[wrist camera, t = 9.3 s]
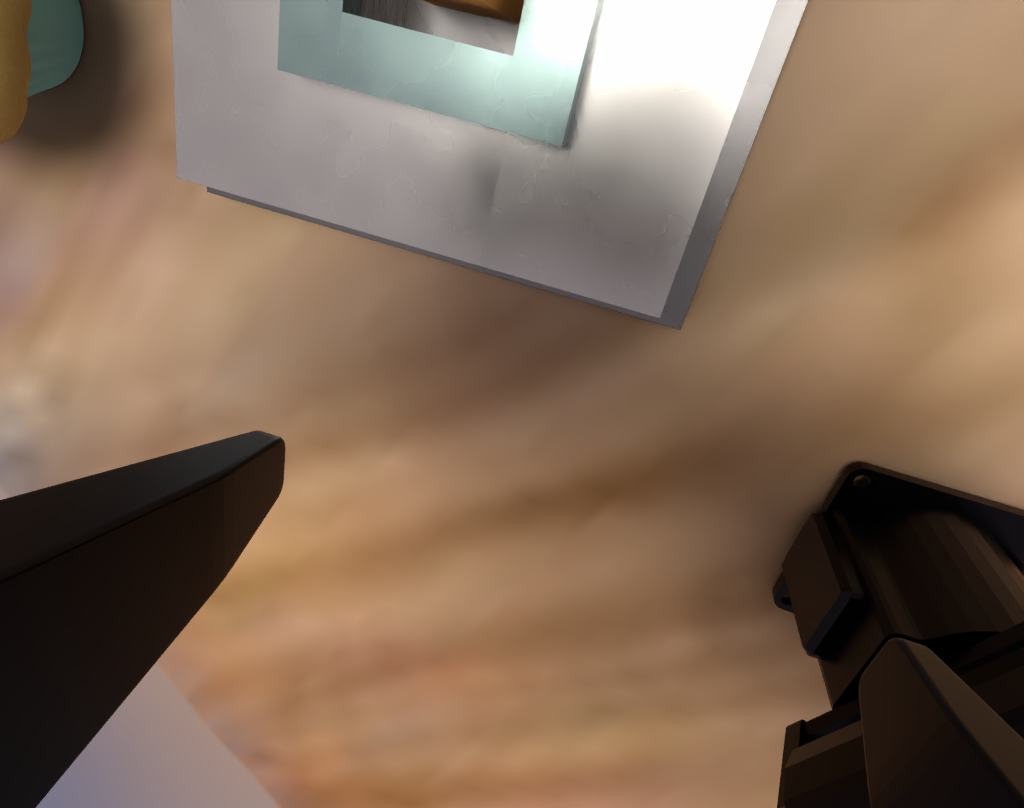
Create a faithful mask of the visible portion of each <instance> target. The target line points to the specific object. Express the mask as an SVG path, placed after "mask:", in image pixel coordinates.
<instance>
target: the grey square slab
mask: <svg viewBox="0 0 1024 808" xmlns="http://www.w3.org/2000/svg"><path fill="white" fill-rule="evenodd" d="M807 2H808V0H524V5H523V10H522V15H521V20H520V25H519V24H515V23H510V22H506V21H501V20H497V19H493V18H488V17H484V16H480V15H475V14H471V13H467V12H462V11H458V10H454V9H449V8H445V7H441V6H436V5H433V4H431V3H428V2H426V1H423V0H171V10H172V39H173V67H174V96H175V124H176V153H177V178H180V179H183V180H186V181H190V182H193V183H197V184H200V185H204V186H207V192H210V193H213V194H216V195H220V196H223V197H227V198H230V199H234V200H237V201H240V202H244V203H247V204H251V205H254V206H258V207H261V208H264V209H268V210H271V211H275V212H278V213H282V214H285V215H288V216H292V217H295V218H299V219H302V220H306V221H309V222H312V223H316V224H319V225H323V226H326V227H330V228H333V229H336V230H340V231H343V232H347V233H350V234H354V235H357V236H360V237H364V238H367V239H371V240H374V241H377V242H381V243H384V244H388V245H391V246H395V247H398V248H401V249H405V250H408V251H412V252H415V253H419V254H422V255H425V256H429V257H432V258H436V259H439V260H443V261H446V262H449V263H453V264H456V265H460V266H463V267H467V268H470V269H473V270H477V271H480V272H484V273H487V274H491V275H494V276H497V277H501V278H504V279H508V280H511V281H515V282H518V283H521V284H525V285H528V286H532V287H535V288H538V289H542V290H545V291H549V292H552V293H556V294H559V295H562V296H566V297H569V298H573V299H576V300H580V301H583V302H586V303H590V304H593V305H597V306H600V307H604V308H607V309H610V310H614V311H617V312H621V313H624V314H628V315H631V316H634V317H638V318H641V319H645V320H648V321H652V322H655V323H658V324H662V325H665V326H669V327H672V328H675V329H679V330H681V327H682V324H683V322H684V319H685V317H686V314H687V312H688V309H689V306H690V304H691V301H692V299H693V296H694V294H695V291H696V288H697V286H698V283H699V281H700V278H701V275H702V273H703V270H704V268H705V265H706V263H707V260H708V257H709V255H710V252H711V250H712V247H713V244H714V242H715V239H716V237H717V234H718V232H719V229H720V226H721V224H722V221H723V219H724V216H725V213H726V211H727V208H728V206H729V203H730V201H731V198H732V195H733V193H734V190H735V188H736V185H737V182H738V180H739V177H740V175H741V172H742V170H743V167H744V164H745V162H746V159H747V157H748V154H749V151H750V149H751V146H752V144H753V141H754V139H755V136H756V133H757V131H758V128H759V126H760V123H761V120H762V118H763V115H764V113H765V110H766V108H767V105H768V102H769V100H770V97H771V95H772V92H773V89H774V87H775V84H776V82H777V79H778V77H779V74H780V71H781V69H782V66H783V64H784V61H785V58H786V56H787V53H788V51H789V48H790V46H791V43H792V40H793V38H794V35H795V33H796V30H797V27H798V25H799V22H800V20H801V17H802V15H803V12H804V9H805V7H806V4H807Z"/></svg>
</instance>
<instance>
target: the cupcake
mask: <svg viewBox="0 0 1024 808" xmlns="http://www.w3.org/2000/svg"><path fill="white" fill-rule="evenodd" d="M83 41H84V25H83V16H82V11H81V6H80V2H79V0H0V144H2V143H3V142H5V141H7V140H8V139H10V138H11V137H13V136H14V135H15V134H16V133H17V131H18V130H19V128H20V126H21V125H22V122H23V120H24V117H25V115H26V111H27V105H28V97H30V96H32V95H34V94H37V93H39V92H42V91H44V90H47V89H50V88H53V87H55V86H57V85H59V84H61V83H63V82H64V81H65V80H66V79H67V78H69V77H70V75H71V74H72V73H73V72H74V70H75V68H76V67H77V65H78V62H79V60H80V57H81V53H82V49H83Z"/></svg>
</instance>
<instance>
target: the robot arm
mask: <svg viewBox="0 0 1024 808" xmlns="http://www.w3.org/2000/svg"><path fill="white" fill-rule="evenodd" d="M284 464H285V442H284V440H283V439H282V438H281V437H278V436H275V435H272V434H269V433H266V432H263V431H252V432H249V433H245V434H241V435H238V436H234V437H230V438H227V439H223V440H219V441H216V442H212V443H208V444H205V445H201V446H197V447H194V448H190V449H186V450H183V451H179V452H175V453H172V454H168V455H164V456H161V457H157V458H153V459H150V460H146V461H142V462H139V463H135V464H131V465H128V466H124V467H120V468H117V469H113V470H109V471H106V472H102V473H98V474H95V475H91V476H87V477H84V478H80V479H76V480H73V481H69V482H65V483H62V484H58V485H54V486H51V487H47V488H43V489H40V490H36V491H32V492H29V493H25V494H21V495H18V496H14V497H10V498H7V499H3V500H0V808H36V806H37V805H38V804H39V803H40V801H41V800H42V799H43V798H44V797H45V796H46V794H47V793H48V792H49V791H50V789H51V788H52V787H53V786H54V785H55V784H56V782H57V781H58V780H59V779H60V778H61V776H62V775H63V774H64V773H65V771H66V770H67V769H68V768H69V766H70V765H71V764H72V763H73V762H74V761H75V759H76V758H77V757H78V756H79V755H80V753H81V752H82V751H83V750H84V749H85V747H86V746H87V745H88V744H89V742H90V741H91V740H92V739H93V738H94V736H95V735H96V734H97V733H98V732H99V730H100V729H101V728H102V727H103V725H104V724H105V723H106V722H107V721H108V719H109V718H110V717H111V716H112V715H113V713H114V712H115V711H116V710H117V708H118V707H119V706H120V705H121V704H122V702H123V701H124V700H125V699H126V698H127V696H128V695H129V694H130V693H131V692H132V690H133V689H134V688H135V687H136V686H137V684H138V683H139V682H140V681H141V680H142V678H143V677H144V676H145V675H146V673H147V672H148V671H149V670H150V669H151V667H152V666H153V665H154V664H155V663H156V661H157V660H158V659H159V658H160V657H161V655H162V654H163V653H164V652H165V651H166V649H167V648H168V647H169V646H170V644H171V643H172V642H173V641H174V640H175V638H176V637H177V636H178V635H179V634H180V632H181V631H182V630H183V629H184V628H185V626H186V625H187V624H188V623H189V621H190V620H191V619H192V618H193V617H194V615H195V614H196V613H197V612H198V611H199V609H200V608H201V607H202V606H203V605H204V603H205V602H206V601H207V600H208V599H209V597H210V596H211V595H212V594H213V592H214V591H215V590H216V589H217V587H218V586H219V585H220V584H221V582H222V581H223V580H224V578H225V577H226V576H227V574H228V573H229V571H230V570H231V568H232V567H233V566H234V564H235V562H236V561H237V559H238V558H239V556H240V555H241V553H242V552H243V550H244V549H245V547H246V546H247V544H248V543H249V541H250V540H251V538H252V537H253V535H254V534H255V532H256V530H257V529H258V527H259V526H260V524H261V523H262V521H263V520H264V518H265V517H266V515H267V514H268V512H269V511H270V509H271V508H272V506H273V505H274V503H275V502H276V500H277V498H278V497H279V495H280V493H281V490H282V487H283V481H284ZM860 475H866V476H867V477H866V478H865V479H864V480H863V481H860V482H856V481H854V479H855V478H856V477H857V476H860ZM782 569H783V573H782V574H781V576H780V578H779V579H778V581H777V583H776V584H775V586H774V588H773V591H772V593H773V598H774V602H775V604H776V605H777V606H778V607H779V608H781V609H783V610H786V611H789V612H792V613H794V615H795V619H796V622H797V626H798V630H799V634H800V638H801V642H802V645H803V648H804V649H805V651H806V653H807V655H808V656H811V657H814V658H817V659H818V661H819V665H820V668H821V672H822V675H823V679H824V682H825V686H826V689H827V693H828V696H829V700H830V704H831V707H832V710H831V711H829V712H827V713H824V714H822V715H820V716H818V717H816V718H814V719H811V720H809V721H807V722H806V721H805V720H800V721H798V722H796V723H793V724H791V725H789V726H787V727H786V733H785V742H784V750H783V759H782V768H781V777H780V786H779V795H778V804H777V808H1024V511H1023V510H1019V509H1016V508H1013V507H1010V506H1006V505H1003V504H1000V503H996V502H993V501H990V500H986V499H983V498H980V497H976V496H973V495H970V494H967V493H963V492H960V491H957V490H953V489H950V488H947V487H943V486H940V485H937V484H934V483H930V482H927V481H924V480H920V479H917V478H914V477H910V476H907V475H904V474H900V473H897V472H894V471H891V470H887V469H884V468H881V467H877V466H874V465H871V464H867V463H862V462H858V463H853V464H851V465H849V466H847V467H846V468H845V469H844V470H843V472H842V474H841V475H840V477H839V479H838V480H837V482H836V484H835V485H834V487H833V489H832V491H831V492H830V494H829V496H828V497H827V499H826V501H825V502H824V504H823V506H822V507H821V509H820V510H818V511H816V512H814V513H812V514H811V515H810V517H809V519H808V520H807V522H806V524H805V525H804V527H803V529H802V531H801V532H800V534H799V536H798V537H797V539H796V541H795V542H794V544H793V546H792V547H791V549H790V551H789V553H788V554H787V556H786V558H785V559H784V561H783V563H782ZM787 594H788V595H789V596H790V597H788V598H786V597H783V596H784V595H787Z"/></svg>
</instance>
